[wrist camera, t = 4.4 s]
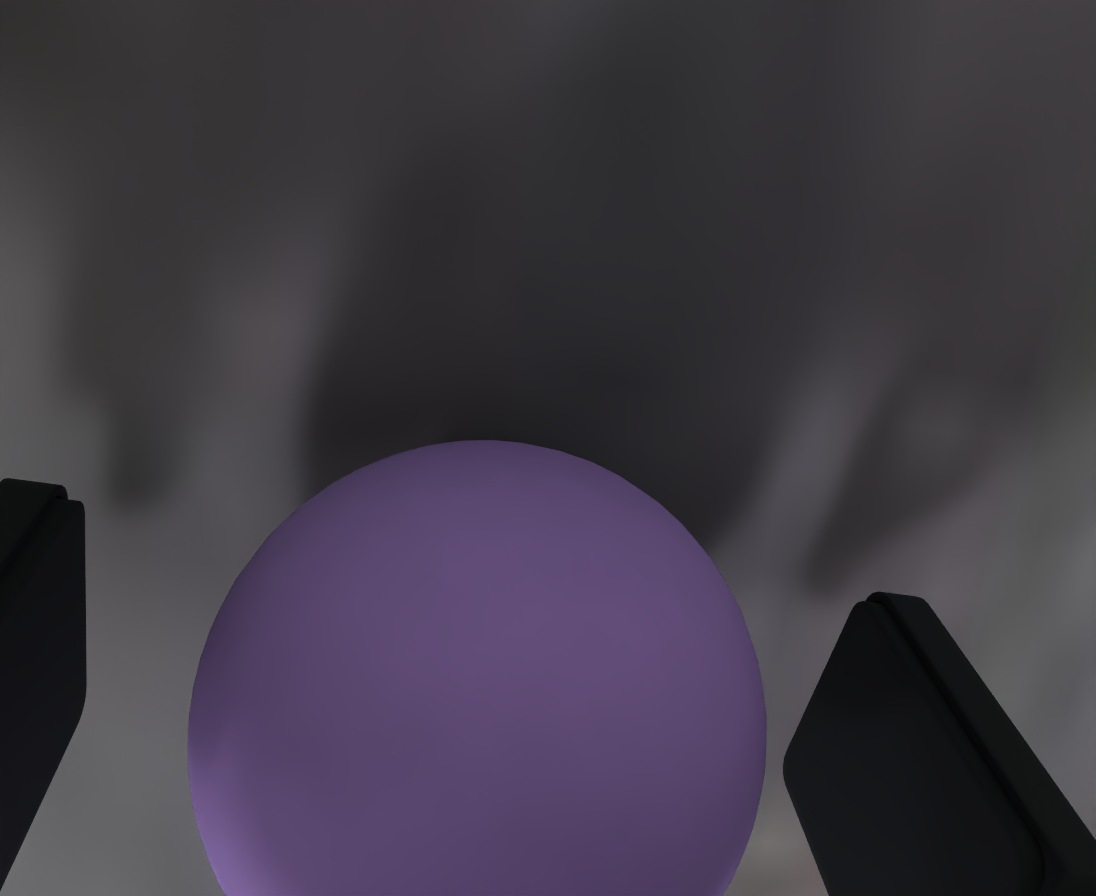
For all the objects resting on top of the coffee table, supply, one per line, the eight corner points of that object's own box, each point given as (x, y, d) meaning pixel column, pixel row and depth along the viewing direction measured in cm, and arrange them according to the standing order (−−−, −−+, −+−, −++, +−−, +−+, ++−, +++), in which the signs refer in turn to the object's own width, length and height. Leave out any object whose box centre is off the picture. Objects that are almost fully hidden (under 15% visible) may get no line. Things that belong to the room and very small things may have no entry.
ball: (750, 394, 12) (983, 750, 7) (631, 736, 15) (729, 1180, 9) (268, 313, 11) (102, 662, 6) (234, 699, 14) (101, 1175, 8)
